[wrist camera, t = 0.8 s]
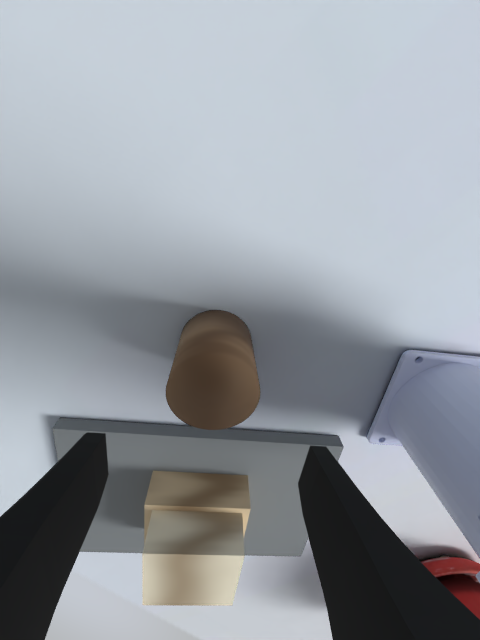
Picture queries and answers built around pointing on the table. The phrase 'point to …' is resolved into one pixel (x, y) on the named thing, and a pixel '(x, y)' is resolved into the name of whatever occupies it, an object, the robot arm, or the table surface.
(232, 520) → the birch top block
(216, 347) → the walnut cylinder
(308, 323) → the table surface
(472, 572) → the plant pot
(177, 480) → the oak bottom block
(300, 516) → the grey base plate
